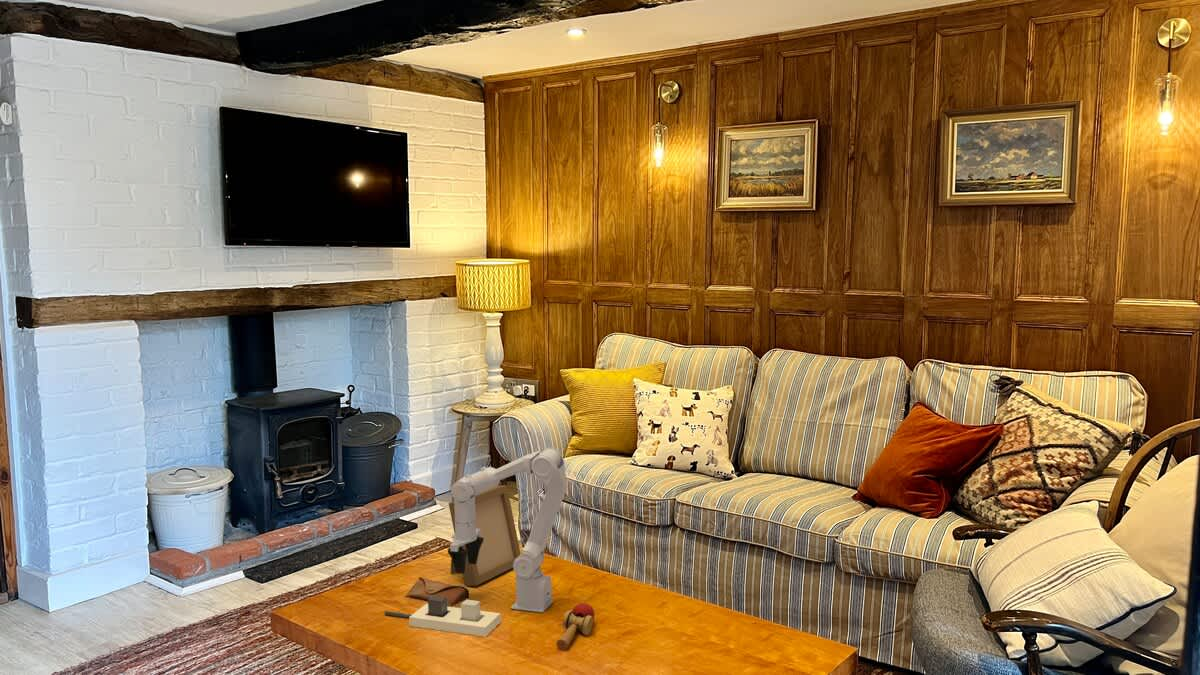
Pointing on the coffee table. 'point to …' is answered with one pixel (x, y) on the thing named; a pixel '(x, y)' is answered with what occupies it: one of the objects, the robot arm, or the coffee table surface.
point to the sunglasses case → (438, 591)
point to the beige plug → (470, 610)
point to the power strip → (449, 618)
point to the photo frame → (491, 536)
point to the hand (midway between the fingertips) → (466, 568)
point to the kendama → (576, 623)
